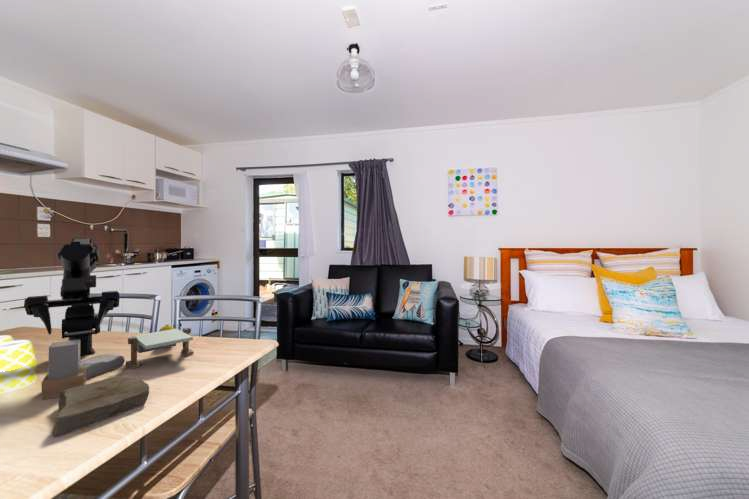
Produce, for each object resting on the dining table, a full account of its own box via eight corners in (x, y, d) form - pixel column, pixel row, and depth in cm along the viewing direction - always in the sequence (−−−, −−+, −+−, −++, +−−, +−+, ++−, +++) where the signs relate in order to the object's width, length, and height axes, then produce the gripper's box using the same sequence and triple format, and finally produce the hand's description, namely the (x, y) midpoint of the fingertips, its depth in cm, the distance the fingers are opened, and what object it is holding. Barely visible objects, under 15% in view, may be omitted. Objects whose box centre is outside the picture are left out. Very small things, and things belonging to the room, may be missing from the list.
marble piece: (54, 440, 57) (54, 417, 57) (35, 416, 65) (35, 396, 65) (157, 403, 71) (157, 384, 71) (131, 387, 79) (131, 370, 79)
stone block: (54, 385, 84) (84, 381, 82) (52, 367, 84) (82, 362, 82) (101, 370, 95) (128, 366, 93) (99, 354, 96) (126, 350, 94)
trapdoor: (132, 351, 97) (132, 335, 97) (176, 343, 106) (176, 328, 106) (145, 363, 88) (145, 345, 87) (192, 353, 97) (192, 336, 97)
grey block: (52, 373, 77) (52, 342, 77) (80, 368, 80) (80, 339, 80) (48, 380, 73) (48, 347, 73) (78, 374, 76) (78, 343, 76)
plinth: (47, 389, 77) (47, 373, 77) (85, 381, 81) (85, 366, 81) (41, 400, 72) (41, 382, 72) (83, 391, 76) (83, 375, 76)
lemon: (179, 346, 111) (179, 324, 111) (161, 350, 106) (162, 327, 106) (171, 343, 114) (171, 322, 114) (154, 348, 109) (154, 325, 109)
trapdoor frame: (125, 364, 93) (125, 336, 93) (187, 351, 106) (188, 326, 106) (129, 369, 90) (129, 340, 90) (193, 354, 103) (193, 328, 103)
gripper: (24, 266, 79) (16, 323, 72) (119, 264, 91) (120, 312, 84) (30, 288, 86) (24, 342, 79) (118, 283, 98) (119, 329, 91)
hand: (74, 330), depth 83 cm, fingers open, 9 cm apart
